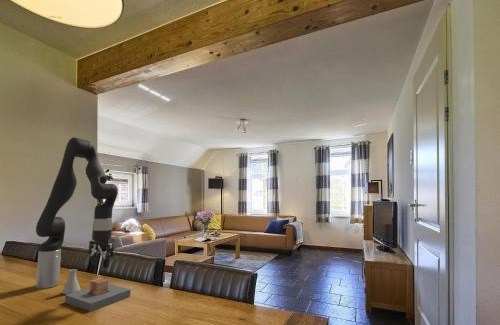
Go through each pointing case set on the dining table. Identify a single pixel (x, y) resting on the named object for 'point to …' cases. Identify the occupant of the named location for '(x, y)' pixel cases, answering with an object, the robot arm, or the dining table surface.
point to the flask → (71, 283)
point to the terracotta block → (98, 286)
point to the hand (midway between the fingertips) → (99, 266)
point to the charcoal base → (97, 298)
